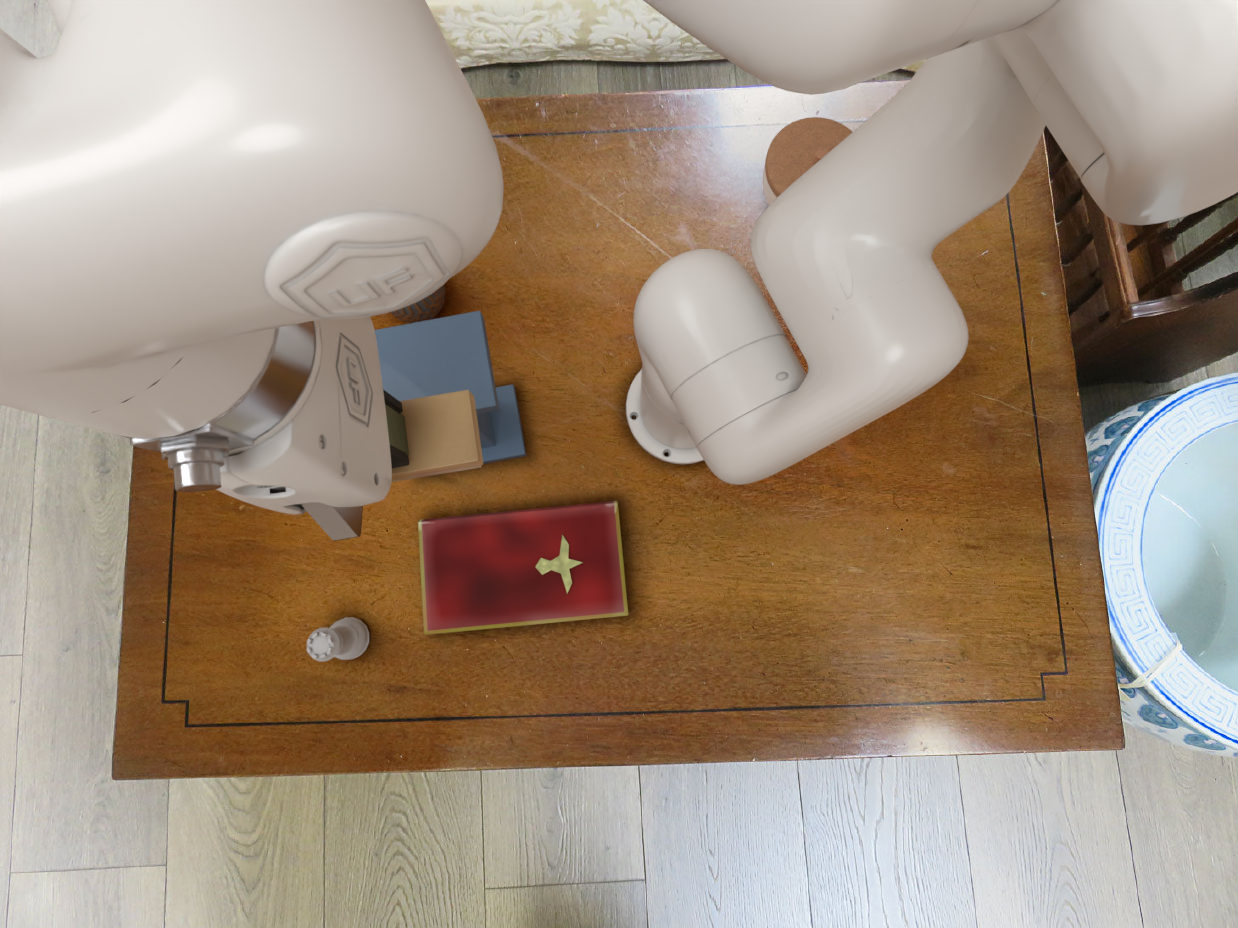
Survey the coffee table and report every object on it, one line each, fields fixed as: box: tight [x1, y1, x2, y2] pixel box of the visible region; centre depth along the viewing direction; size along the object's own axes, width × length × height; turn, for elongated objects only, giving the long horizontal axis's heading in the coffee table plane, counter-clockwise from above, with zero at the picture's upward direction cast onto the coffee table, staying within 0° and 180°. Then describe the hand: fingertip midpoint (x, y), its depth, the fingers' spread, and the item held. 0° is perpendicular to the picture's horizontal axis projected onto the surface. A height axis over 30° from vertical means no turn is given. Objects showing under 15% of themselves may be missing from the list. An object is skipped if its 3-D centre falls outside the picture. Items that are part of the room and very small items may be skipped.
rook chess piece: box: [306, 616, 370, 663], centre depth 74 cm, size 4×4×8 cm
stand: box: [374, 310, 528, 465], centre depth 69 cm, size 14×8×24 cm, turn 101°
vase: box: [389, 284, 446, 324], centre depth 79 cm, size 7×7×9 cm
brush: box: [385, 390, 484, 483], centre depth 42 cm, size 11×4×10 cm, turn 99°
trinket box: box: [762, 116, 853, 207], centre depth 80 cm, size 11×11×9 cm
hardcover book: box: [417, 500, 629, 636], centre depth 77 cm, size 12×21×4 cm, turn 95°
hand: (379, 438), depth 43 cm, fingers closed on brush, 2 cm apart
